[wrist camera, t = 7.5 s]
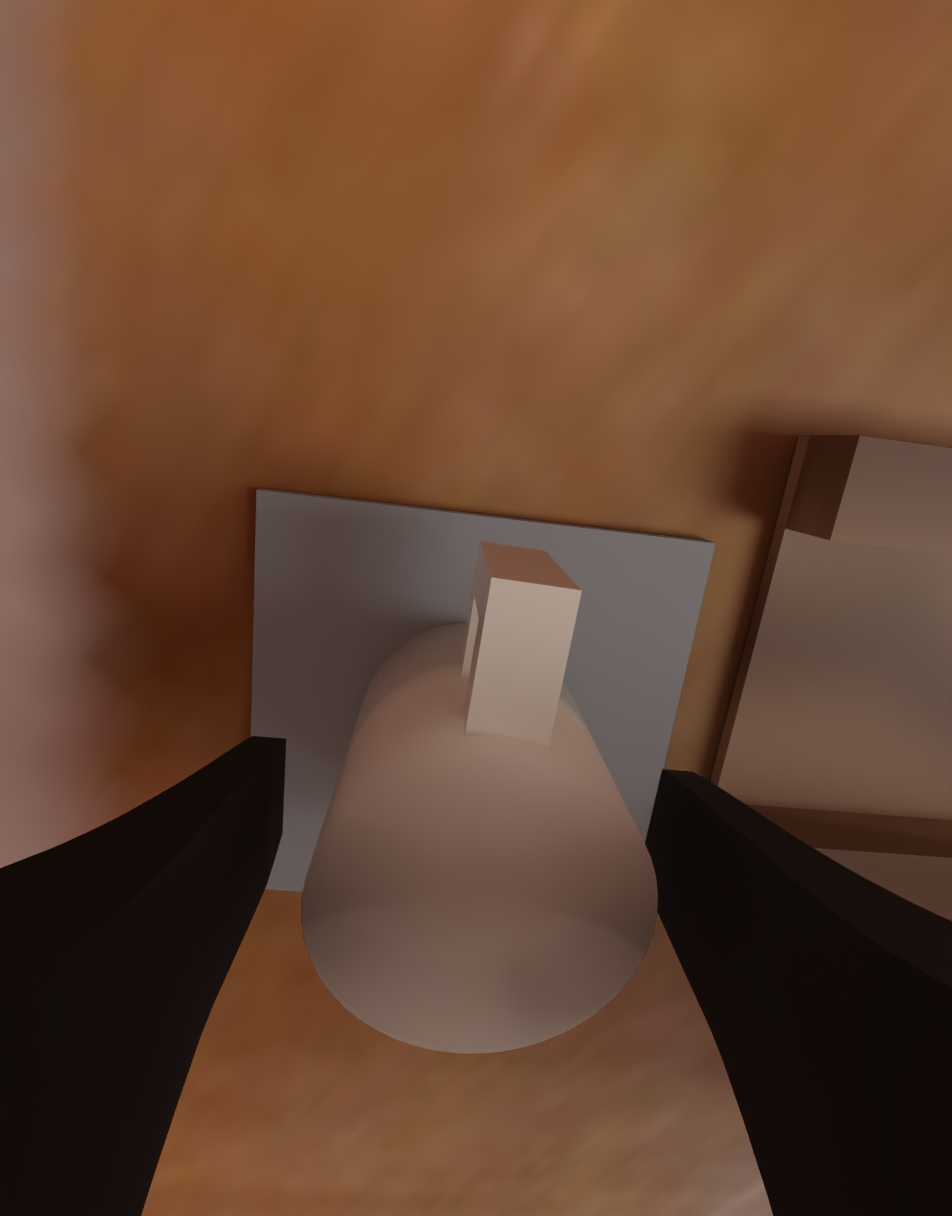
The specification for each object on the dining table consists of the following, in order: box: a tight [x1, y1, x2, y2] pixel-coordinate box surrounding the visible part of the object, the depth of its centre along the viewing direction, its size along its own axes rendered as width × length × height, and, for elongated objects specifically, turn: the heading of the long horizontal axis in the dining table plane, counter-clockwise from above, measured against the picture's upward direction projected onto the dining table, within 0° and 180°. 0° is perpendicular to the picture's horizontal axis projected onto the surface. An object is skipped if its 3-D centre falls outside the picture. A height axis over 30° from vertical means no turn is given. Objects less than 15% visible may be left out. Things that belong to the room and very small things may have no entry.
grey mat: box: [251, 488, 716, 892], centre depth 14 cm, size 10×10×1 cm
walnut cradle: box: [710, 436, 952, 921], centre depth 14 cm, size 11×9×2 cm
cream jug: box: [301, 541, 658, 1054], centre depth 11 cm, size 7×5×6 cm
